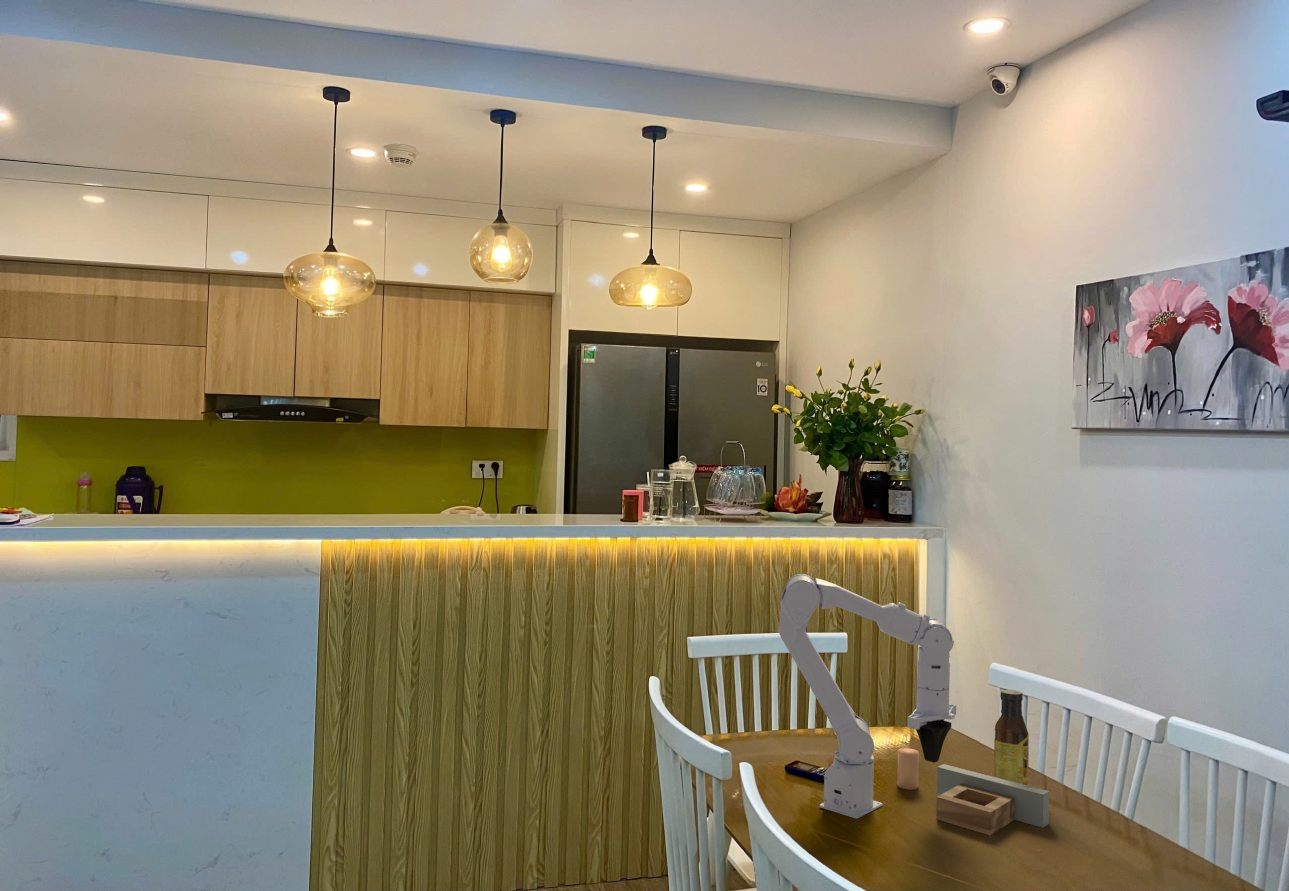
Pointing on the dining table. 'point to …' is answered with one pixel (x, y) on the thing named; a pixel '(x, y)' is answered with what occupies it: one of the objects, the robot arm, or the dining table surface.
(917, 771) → the dowel
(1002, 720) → the sauce bottle
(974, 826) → the socket block
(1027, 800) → the backstop
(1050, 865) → the dining table surface
